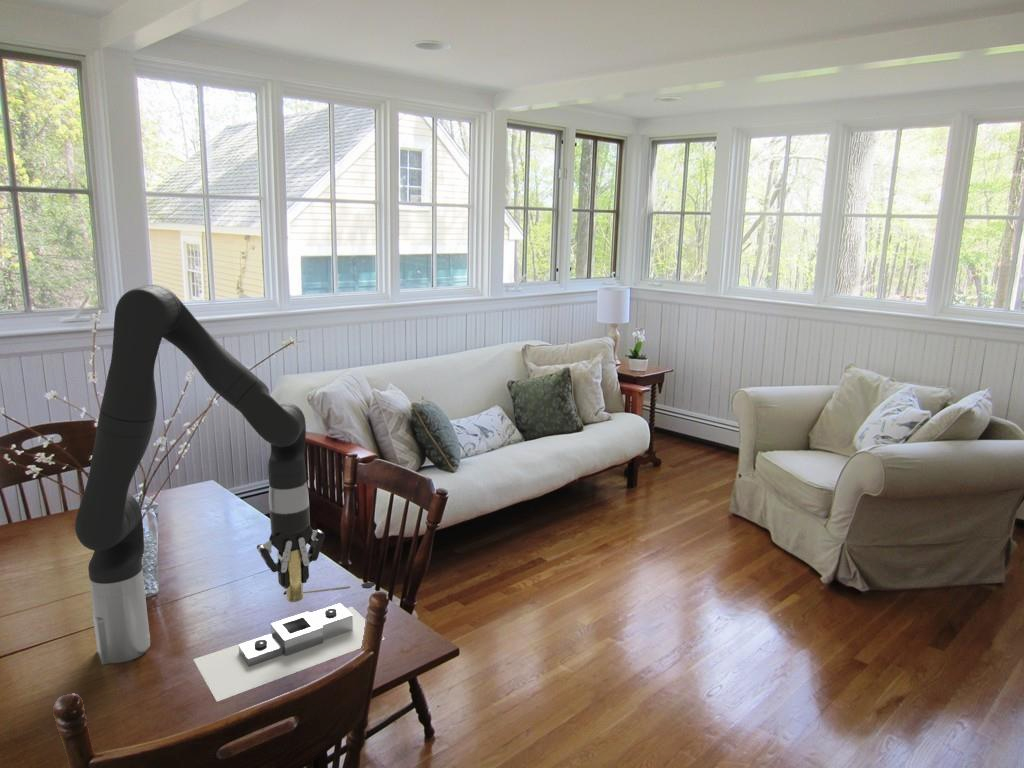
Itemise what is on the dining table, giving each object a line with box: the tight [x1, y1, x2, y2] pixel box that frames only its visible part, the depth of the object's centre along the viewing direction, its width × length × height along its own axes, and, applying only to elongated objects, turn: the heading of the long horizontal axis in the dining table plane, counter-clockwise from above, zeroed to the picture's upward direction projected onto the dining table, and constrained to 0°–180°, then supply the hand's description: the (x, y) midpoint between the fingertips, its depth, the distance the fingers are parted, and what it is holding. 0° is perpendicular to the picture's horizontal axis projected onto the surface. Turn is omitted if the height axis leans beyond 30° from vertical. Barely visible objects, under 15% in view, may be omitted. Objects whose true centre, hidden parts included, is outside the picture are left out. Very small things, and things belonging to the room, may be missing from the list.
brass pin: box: [285, 549, 304, 603], centre depth 147 cm, size 3×3×11 cm
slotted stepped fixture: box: [237, 602, 353, 667], centre depth 150 cm, size 22×8×4 cm, turn 127°
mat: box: [192, 606, 386, 703], centre depth 148 cm, size 34×16×1 cm, turn 127°
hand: (294, 583), depth 147 cm, fingers closed on brass pin, 3 cm apart
